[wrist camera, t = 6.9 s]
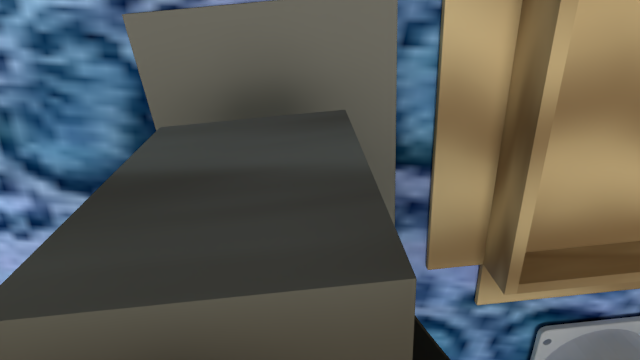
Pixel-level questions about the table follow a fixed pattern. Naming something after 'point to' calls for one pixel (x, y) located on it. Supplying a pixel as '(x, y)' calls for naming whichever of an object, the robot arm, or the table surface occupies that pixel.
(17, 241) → the table surface
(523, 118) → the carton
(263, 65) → the gray panel
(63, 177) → the table surface
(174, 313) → the capped block
